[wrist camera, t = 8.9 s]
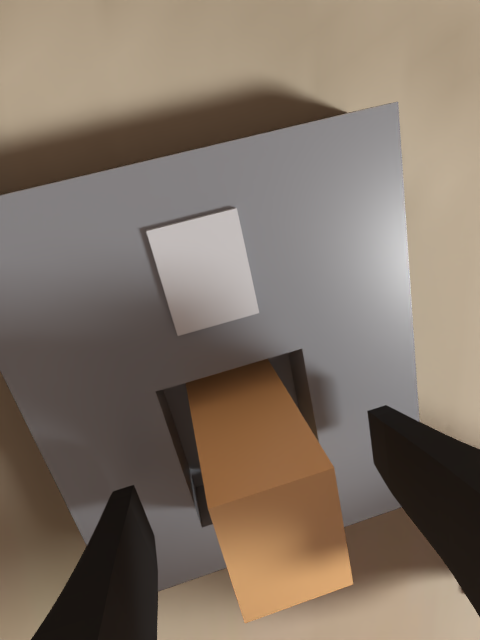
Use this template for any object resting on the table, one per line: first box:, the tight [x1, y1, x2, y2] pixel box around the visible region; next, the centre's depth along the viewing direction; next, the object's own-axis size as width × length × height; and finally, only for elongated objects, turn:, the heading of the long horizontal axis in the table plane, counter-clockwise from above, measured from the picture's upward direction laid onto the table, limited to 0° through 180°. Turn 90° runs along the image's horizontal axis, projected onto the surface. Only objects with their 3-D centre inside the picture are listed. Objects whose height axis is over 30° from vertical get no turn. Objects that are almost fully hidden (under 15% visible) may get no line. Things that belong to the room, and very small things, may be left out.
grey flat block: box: [0, 102, 419, 591], centre depth 15 cm, size 12×14×3 cm
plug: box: [186, 359, 353, 623], centre depth 13 cm, size 3×4×6 cm
